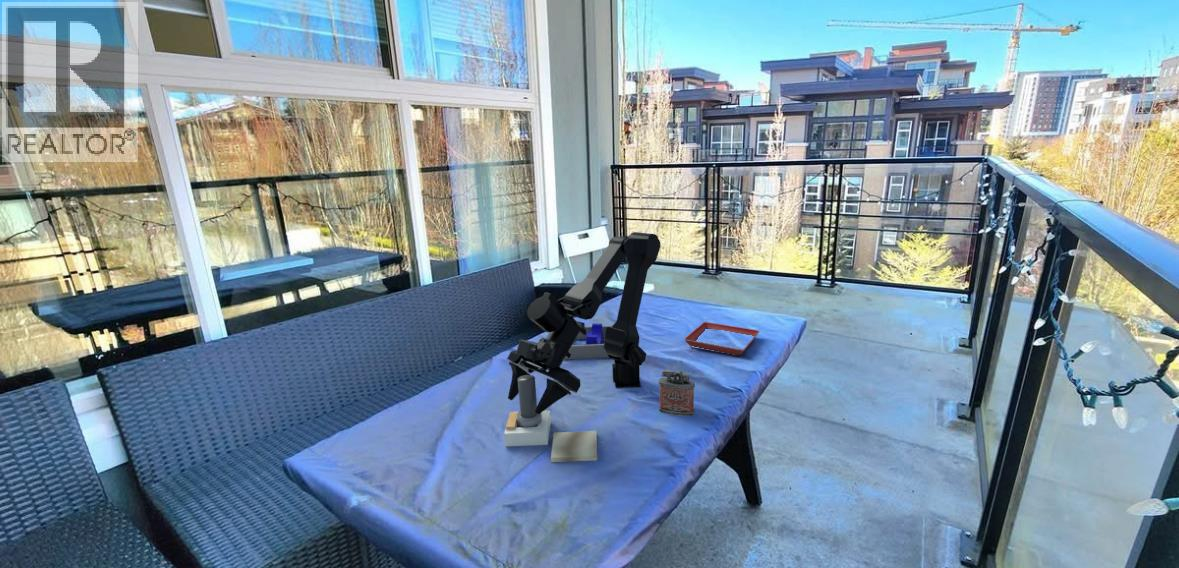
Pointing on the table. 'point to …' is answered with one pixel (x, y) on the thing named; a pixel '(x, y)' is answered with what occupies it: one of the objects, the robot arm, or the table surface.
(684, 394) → the lighter
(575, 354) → the storage tray
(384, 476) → the table surface
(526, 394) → the plug
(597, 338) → the blue stepped block
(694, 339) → the plant saucer
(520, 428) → the socket block
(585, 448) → the birch board
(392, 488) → the table surface
